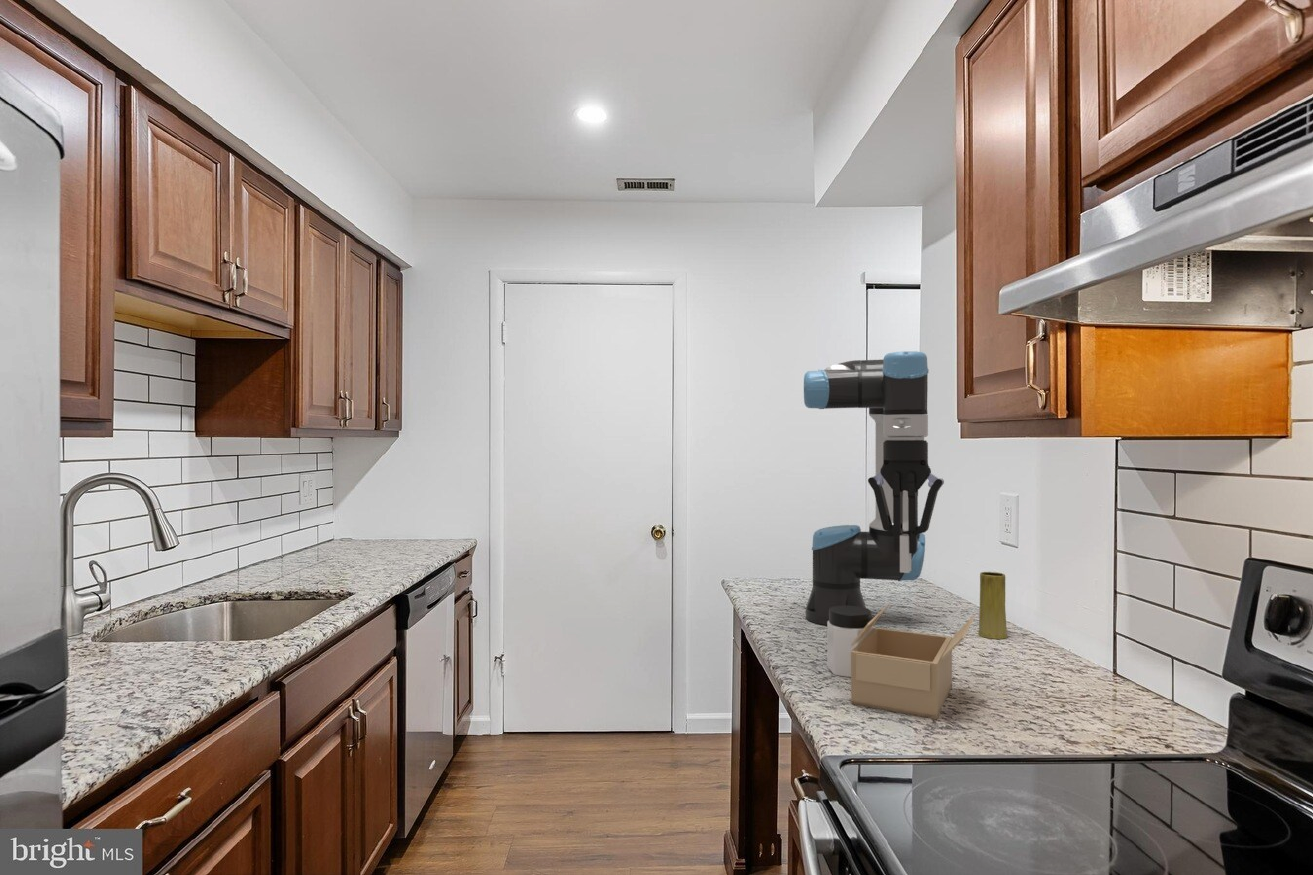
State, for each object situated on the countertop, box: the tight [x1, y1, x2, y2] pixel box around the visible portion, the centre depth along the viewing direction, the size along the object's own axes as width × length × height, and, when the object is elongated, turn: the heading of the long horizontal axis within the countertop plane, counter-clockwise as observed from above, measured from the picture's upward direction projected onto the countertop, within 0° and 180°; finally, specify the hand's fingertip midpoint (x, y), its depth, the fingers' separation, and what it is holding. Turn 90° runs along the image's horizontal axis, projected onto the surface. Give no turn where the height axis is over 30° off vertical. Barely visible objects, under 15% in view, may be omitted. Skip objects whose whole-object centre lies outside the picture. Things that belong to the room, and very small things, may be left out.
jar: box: [826, 606, 875, 678], centre depth 143 cm, size 9×8×12 cm
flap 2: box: [942, 615, 975, 659], centre depth 126 cm, size 16×5×1 cm
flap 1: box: [851, 604, 889, 646], centre depth 133 cm, size 16×5×1 cm
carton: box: [850, 627, 953, 720], centre depth 130 cm, size 19×14×9 cm
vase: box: [978, 571, 1008, 640], centre depth 168 cm, size 6×6×14 cm
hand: (905, 571), depth 130 cm, fingers closed
